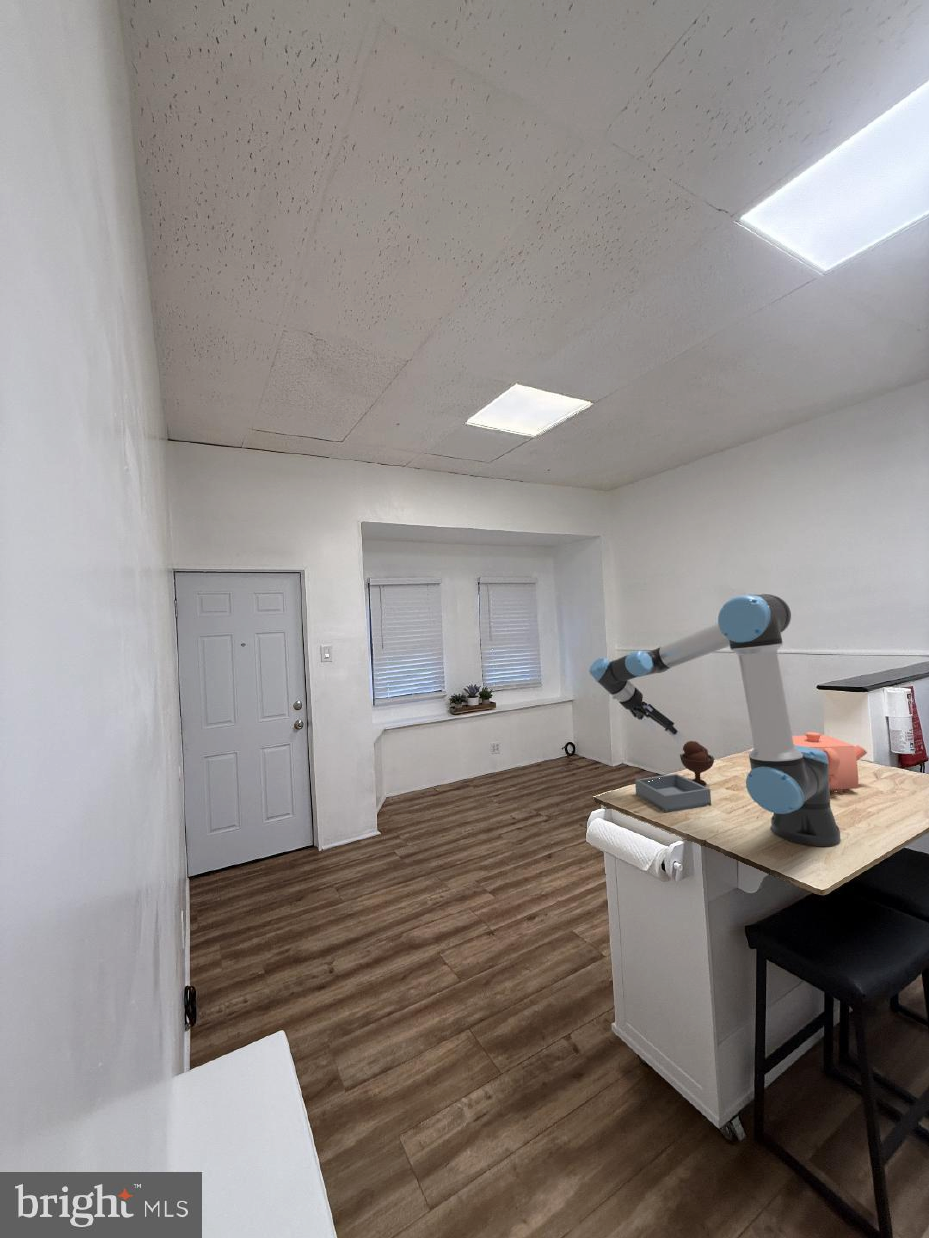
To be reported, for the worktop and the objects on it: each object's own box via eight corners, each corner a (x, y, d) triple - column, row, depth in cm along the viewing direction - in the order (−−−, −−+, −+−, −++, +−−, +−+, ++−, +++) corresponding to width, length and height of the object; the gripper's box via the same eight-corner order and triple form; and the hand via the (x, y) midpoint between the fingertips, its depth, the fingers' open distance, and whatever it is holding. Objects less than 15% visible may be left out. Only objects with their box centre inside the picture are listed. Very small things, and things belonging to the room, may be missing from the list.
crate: (711, 805, 151) (710, 789, 151) (666, 812, 147) (665, 796, 147) (677, 788, 166) (676, 773, 166) (635, 794, 163) (635, 779, 163)
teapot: (844, 773, 171) (841, 723, 171) (894, 798, 148) (891, 740, 148) (769, 775, 173) (766, 725, 173) (807, 799, 151) (804, 742, 151)
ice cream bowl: (712, 791, 162) (710, 746, 162) (677, 785, 168) (675, 742, 168) (718, 781, 170) (716, 739, 170) (684, 776, 177) (682, 735, 177)
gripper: (601, 696, 175) (640, 733, 179) (641, 709, 151) (685, 752, 154) (613, 681, 176) (652, 718, 180) (655, 691, 152) (699, 733, 155)
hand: (667, 733), depth 167 cm, fingers open, 13 cm apart
